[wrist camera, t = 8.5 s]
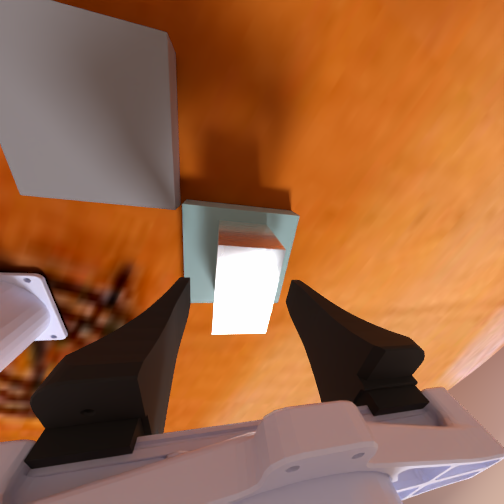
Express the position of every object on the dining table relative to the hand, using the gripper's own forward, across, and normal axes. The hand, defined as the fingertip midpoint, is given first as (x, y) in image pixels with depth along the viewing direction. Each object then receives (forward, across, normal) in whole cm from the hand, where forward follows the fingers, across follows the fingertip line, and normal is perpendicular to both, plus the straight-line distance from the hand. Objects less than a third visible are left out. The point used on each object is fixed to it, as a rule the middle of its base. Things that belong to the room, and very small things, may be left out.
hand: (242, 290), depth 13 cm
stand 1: (+6, +10, -9) cm, 15 cm away
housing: (+4, 0, 0) cm, 4 cm away
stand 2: (+6, 0, 0) cm, 6 cm away
